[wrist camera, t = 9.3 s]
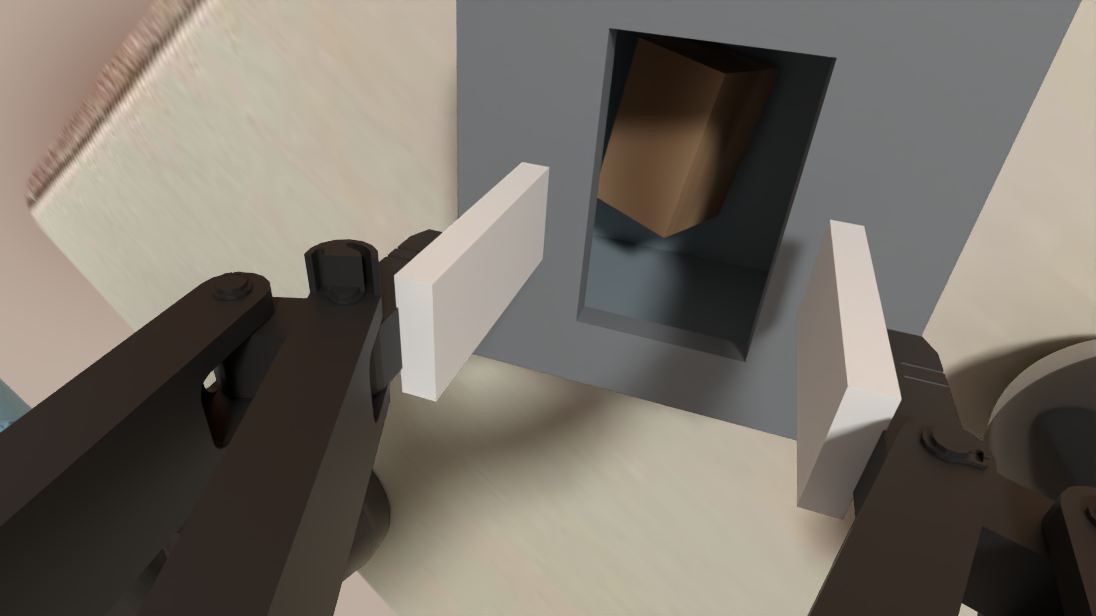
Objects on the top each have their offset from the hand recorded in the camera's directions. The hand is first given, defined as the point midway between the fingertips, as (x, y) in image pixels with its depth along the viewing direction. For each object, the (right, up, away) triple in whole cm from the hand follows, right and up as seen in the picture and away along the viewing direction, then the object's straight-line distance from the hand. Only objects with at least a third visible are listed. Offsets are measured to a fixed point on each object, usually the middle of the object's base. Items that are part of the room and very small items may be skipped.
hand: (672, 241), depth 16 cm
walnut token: (+3, +5, +9) cm, 11 cm away
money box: (+4, +6, +10) cm, 12 cm away
